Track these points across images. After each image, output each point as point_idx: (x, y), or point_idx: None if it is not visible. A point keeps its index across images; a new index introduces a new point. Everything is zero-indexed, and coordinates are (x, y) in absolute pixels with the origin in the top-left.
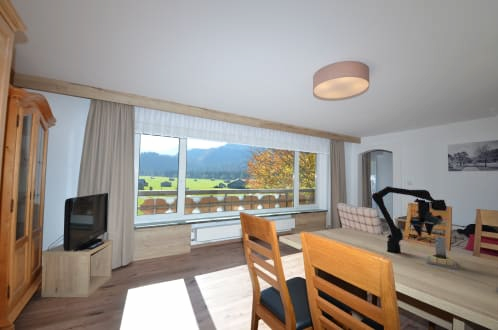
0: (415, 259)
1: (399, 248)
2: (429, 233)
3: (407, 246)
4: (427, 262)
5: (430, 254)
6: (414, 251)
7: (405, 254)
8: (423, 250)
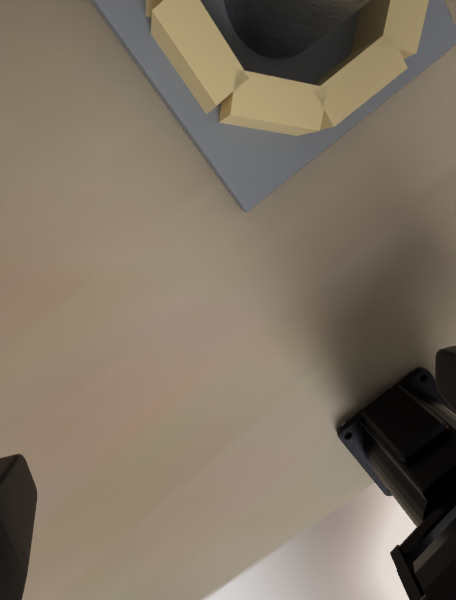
0: (421, 196)
1: (427, 406)
2: (13, 502)
3: (79, 578)
4: (452, 41)
5: (348, 100)
6: (167, 425)
7: (367, 345)
8: (8, 453)
